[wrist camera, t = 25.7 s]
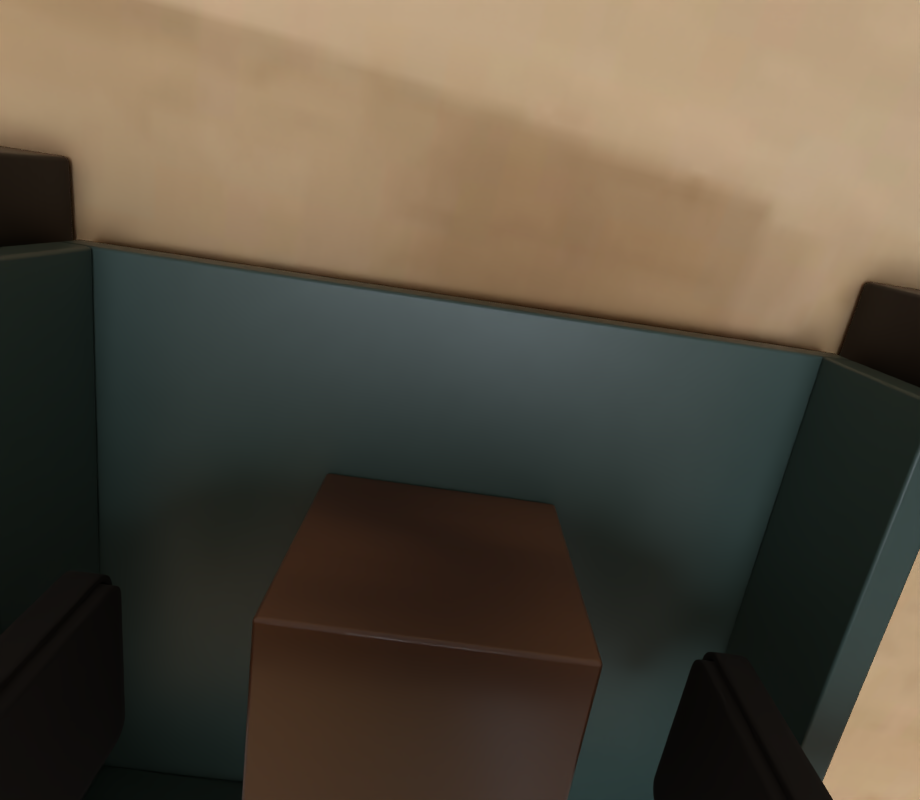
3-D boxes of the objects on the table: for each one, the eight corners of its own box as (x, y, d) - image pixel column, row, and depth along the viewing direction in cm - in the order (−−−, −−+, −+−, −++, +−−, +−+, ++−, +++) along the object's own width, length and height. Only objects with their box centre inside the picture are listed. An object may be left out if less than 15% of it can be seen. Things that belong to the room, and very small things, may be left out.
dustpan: (8, 1095, 13) (107, 901, 17) (665, 1160, 14) (622, 958, 17) (-80, 252, 8) (90, 237, 12) (979, 410, 8) (824, 348, 12)
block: (308, 662, 13) (235, 877, 9) (326, 471, 12) (251, 618, 8) (515, 688, 13) (539, 913, 9) (555, 503, 12) (605, 664, 8)
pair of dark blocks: (-22, 142, 11) (-205, 127, 8) (946, 293, 12) (1113, 331, 9) (-13, 235, 12) (-183, 253, 9) (913, 374, 12) (1060, 437, 9)
